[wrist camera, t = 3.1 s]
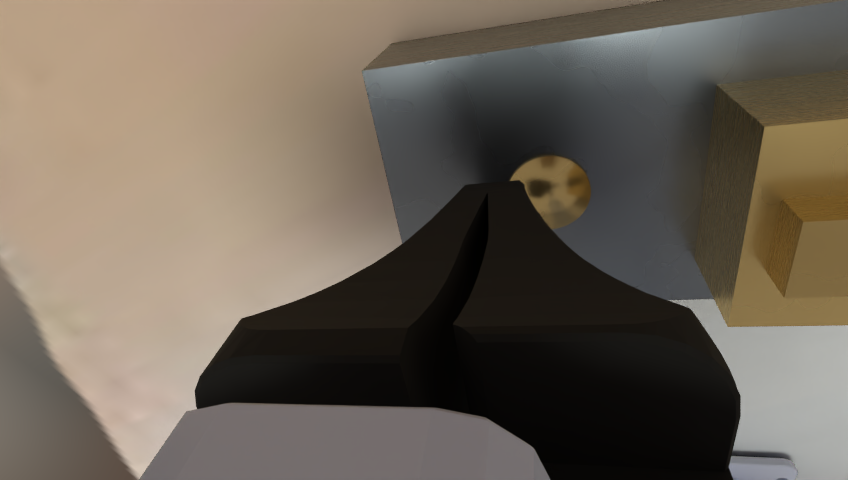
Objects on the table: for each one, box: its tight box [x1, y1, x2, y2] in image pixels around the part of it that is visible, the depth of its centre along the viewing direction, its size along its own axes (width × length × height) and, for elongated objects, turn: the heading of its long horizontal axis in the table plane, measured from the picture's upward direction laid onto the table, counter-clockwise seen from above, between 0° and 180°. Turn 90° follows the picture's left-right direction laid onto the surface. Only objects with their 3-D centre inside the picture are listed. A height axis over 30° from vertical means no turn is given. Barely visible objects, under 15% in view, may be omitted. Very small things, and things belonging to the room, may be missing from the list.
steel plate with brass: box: [362, 0, 848, 300], centre depth 12 cm, size 7×20×3 cm, turn 101°
